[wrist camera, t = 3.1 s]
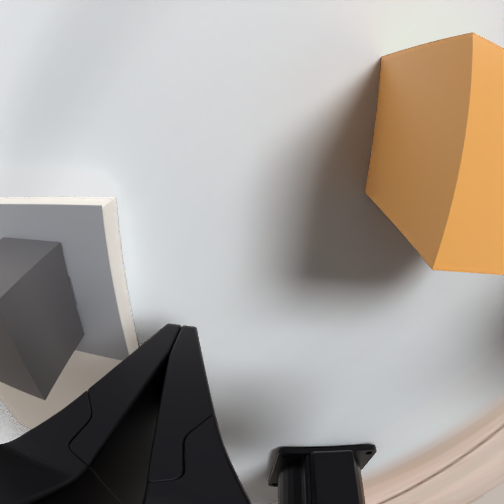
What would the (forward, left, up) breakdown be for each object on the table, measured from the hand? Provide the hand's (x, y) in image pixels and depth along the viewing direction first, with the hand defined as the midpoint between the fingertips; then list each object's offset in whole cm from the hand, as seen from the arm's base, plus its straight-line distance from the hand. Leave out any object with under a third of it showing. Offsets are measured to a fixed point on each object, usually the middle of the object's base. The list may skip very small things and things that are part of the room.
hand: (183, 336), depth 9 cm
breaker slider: (0, +6, -1) cm, 6 cm away
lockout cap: (+6, -7, -3) cm, 10 cm away
